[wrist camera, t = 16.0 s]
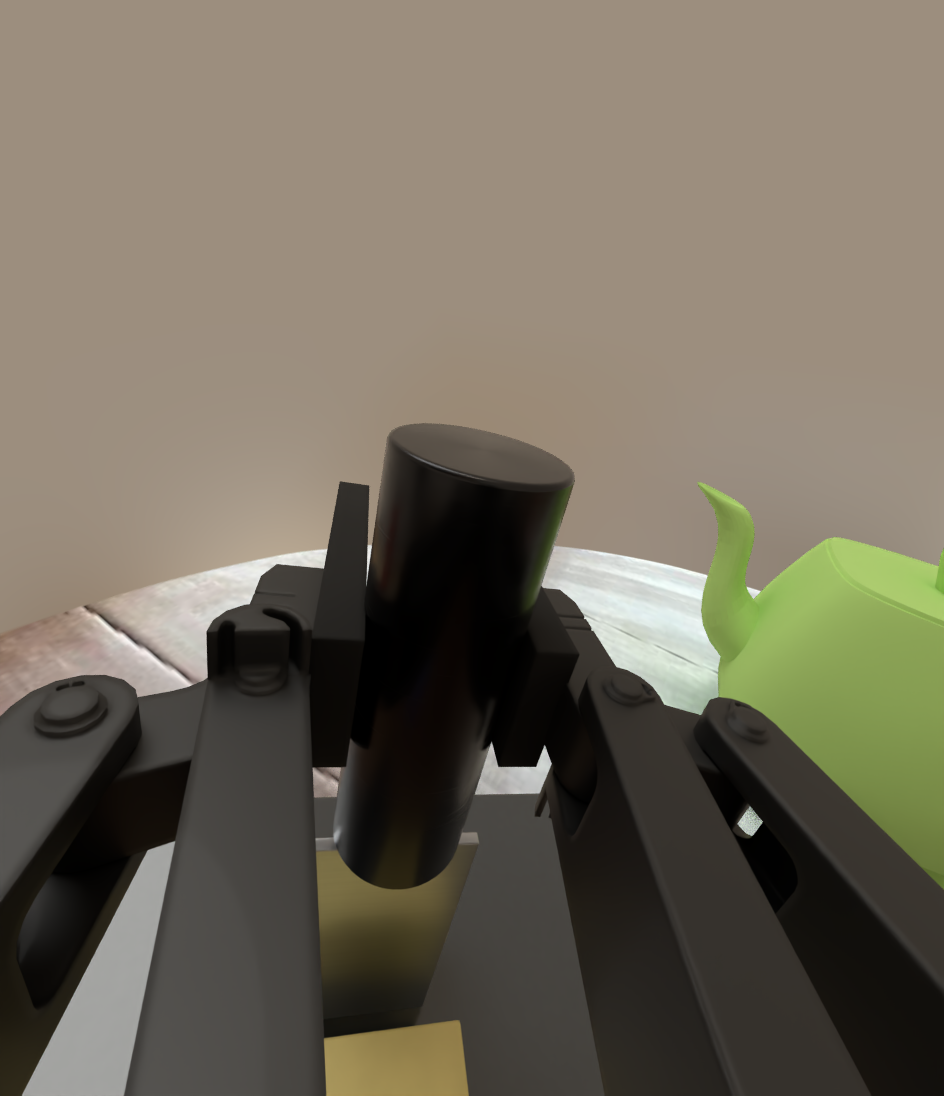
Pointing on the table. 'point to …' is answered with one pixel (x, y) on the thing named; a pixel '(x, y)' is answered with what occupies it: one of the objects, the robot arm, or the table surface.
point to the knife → (428, 699)
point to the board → (454, 994)
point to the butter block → (398, 1062)
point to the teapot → (842, 669)
